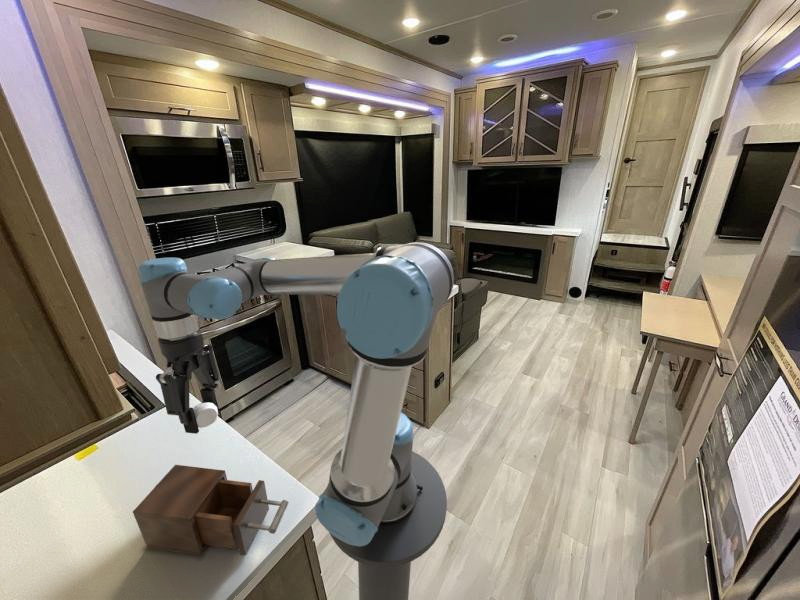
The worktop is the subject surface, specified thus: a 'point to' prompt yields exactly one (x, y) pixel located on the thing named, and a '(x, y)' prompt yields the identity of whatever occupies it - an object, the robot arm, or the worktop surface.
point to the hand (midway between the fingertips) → (202, 421)
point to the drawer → (236, 515)
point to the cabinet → (177, 509)
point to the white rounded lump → (205, 414)
